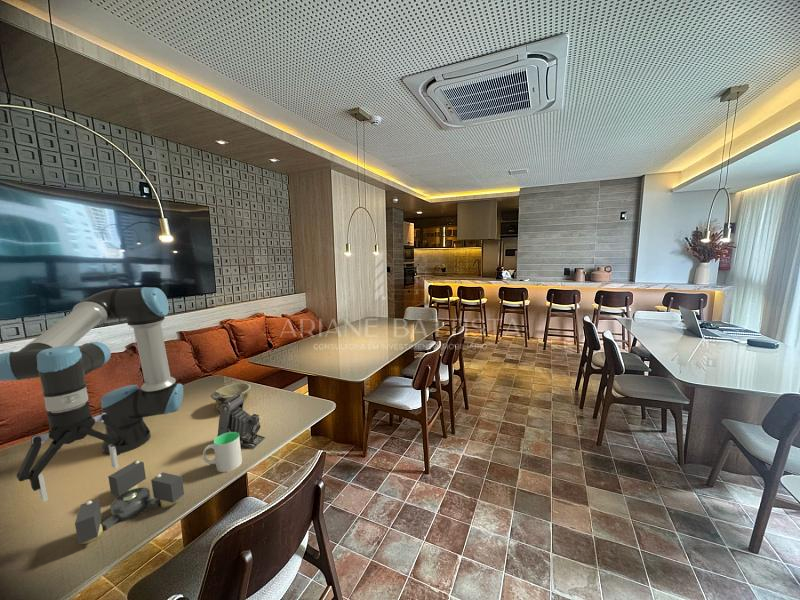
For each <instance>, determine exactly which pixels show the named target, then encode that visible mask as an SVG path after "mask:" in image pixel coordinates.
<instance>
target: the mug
mask: <svg viewBox="0 0 800 600" xmlns="http://www.w3.org/2000/svg"><path fill="white" fill-rule="evenodd" d="M208 449H213V451H214V455H215V456H214V457H215V458H214V459H212V460H209V459H208V458H207V457H206V451H207V450H208ZM202 460H203V462H204V463H206V464H209V465H214V464H215V465H216V470H217V472H219V473H227V472H231V471H233V470H236V469H237V468H238V467H240V466H241V464H242V463H243V457H242V449H241V445H240V438H239V433H237V432H228V433H224V434H222V435H220V436H218V437H217V436H216V437H215V438H214V439H213V443H211V444H208V445H207V446H206V447H205V448H204V449H203V451H202Z"/></svg>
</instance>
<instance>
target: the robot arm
mask: <svg viewBox="0 0 800 600" xmlns="http://www.w3.org/2000/svg"><path fill="white" fill-rule="evenodd" d="M169 307H170V304H169V302H168V297H167V296H166V294H165V293H164V291H163V290H162V289H160V288H159V287H146V286H143V287H131V288H130V287H129V288H111V289H106V290H103V291H100V292H97V293H94V294H92V295H91V296H89V297H86V298H85V299H83V300H81V301H80V302H78V303H76V304H75V305H74V306H73V308H72V310H71V312H70V313H68V314H67V315H66V316H65V317H63V318H62V319H60V320H58V322H56V323H55V324H54V325H52V326H51V327H49V328H48V329H47V330H46V331H44V332H43V333H41V334H40V335H38V336H37V337H36V338H35V339H32V341H30V342H29V343H28V344H26V345H25V346H24V347H22V348H21V349H20V350H18V351H8V352H1V353H0V382H8V381H21V380H29V379H36V378H37V379H38V378H39V379H40V383H41V389H42V391H43V392H42V393H43V394H42V395H43V399H44V404H45V405H44V407H45V410H46V411H47V413H46V416H47V421H48V427H49V431H48V432H47V433H42V434H37V433H36V434H33V435H32V436H31V438H30V440H31V442H30V443H31V445H30V447H29V449H28V451H27V453H26V455H25V458H24V460H23V461H22V463H21V466H20V467H19V470H18V471H17V474H16V478H17V479H18V481H19V482H23V481H27V480H29V482H30V487H31V489H32V490H33V492H35V491H38V490H39V495H40V499H41V500H42V502H43V503H44V502H47V501H49V498H48V493H47V488H46V482H45V477H44V475H43V473H42V471H44V470H45V468H46V467H47V466H48V464H49V463H50V461H51V460H52V459H53V457H54V456H55V454H56V453H57V452H58V451H59V450H60V449H61V448H62V447H63V446H64V445H70V444H72V443H74V442H76V441H79V440H80V441H81V440H83V439H85V437H87V436H90V437H93V438H96V439H98V440H101V441H102V445H101V446H102V452H103V453H104V454H107V455H109V456H110V463H111V467H112V468H113V469H114V470H117V469H119V467H120V466H119V461H118V456H120V455H121V454H122V453H125V452H128V451H131V450H134V449H136V448H139V447H140V446H142V445H143V444H145V443H147V442H149V440H150V439H151V437H152V433H151V430H150V428H149V427H148V426H147V423H146V422H145V421H144V418H148V417H154V416H160V415H167V414H171V413H175V412H177V411H178V410H179V409H180V408H181V405H182V402H183V398H184V385H183V384H182V383H177V380H176V378H175V377H173V376H171V371H170V365H169V361H168V355H167V350H166V343H165V339H164V334H163V329H162V322H164V321H165V317H167V315H168V314H169V312H170V309H169ZM112 320H126V323H127V325H128V326H129V327H132V328H133V331H134V336H135V342H136V346H137V352H138V356H139V361H140V366H141V369H142V376H143V381H144V383H143V384H142V385H141V387H139V386H138V384H131V385H126V386H123V387H119V388H115V389H114V390H111V391H110V392H107V393H105V394H104V395H103V396H102V397H101V401H100V402H101V410H102V412H100V413H99V414H98V415H97V416H94V417H93V416H92V411H91V407H90V403H89V394H88V390H87V384H86V375H87V374H89V373H91V372H93V371H96V370H97V369H99V368H101V367H102V366H104V365H105V364H106V363H108V361H110V359H111V357H112V352H111V349H110V347H108V345H106V344H105V343H103V342H99V341H98V342H97V341H92V342H88V343H84V344H82V345H75V344H76V343H78V342H79V341H80V340H81V339H83V337H84V336H86V335H87V333H89V332H90V331H91V330H92V329H93V328H95V327H97V326H100V325H103V324H104V323H105V322H108V321H112ZM96 422H98V423H99V424H104V427H105V433H103V432H101V431H98V430H96V429H93V426H94V425H95V423H96ZM48 439H51V440H52V441H51V442H50V443H49V446H48V447H47V449H46V450H45V451H44V453H43V454H42V456H41V457H40V458H39V459H38V461H37V462H36V463H35V460H36V458H37V456H38V454H39V452H40V449H41V448H42V445H43V444H45V442H46V440H48ZM34 463H35V465H34ZM33 465H34V466H33Z"/></svg>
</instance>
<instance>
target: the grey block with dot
mask: <svg viewBox="0 0 800 600" xmlns="http://www.w3.org/2000/svg"><path fill="white" fill-rule="evenodd" d="M107 478H108V485H109V489H110V494H111V495H113V496H117V497H119V496H120V495H122V494H123V493H125V492H127V491H130V490H133V489H136V488H140V487H139V484H140V483H142V482H143V481H144V480H146V479H147V476H146V470H145V462H143V461H140V460H135V461H133V462H131V463H129V464H128V465H126V466H124V467H122V468H120V469H119V470H117V471H115V472H113V473H111V474H110V475H109V476H108V477H107Z"/></svg>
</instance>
